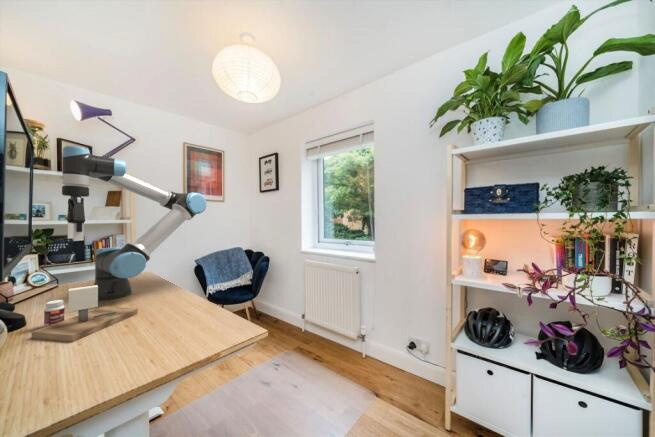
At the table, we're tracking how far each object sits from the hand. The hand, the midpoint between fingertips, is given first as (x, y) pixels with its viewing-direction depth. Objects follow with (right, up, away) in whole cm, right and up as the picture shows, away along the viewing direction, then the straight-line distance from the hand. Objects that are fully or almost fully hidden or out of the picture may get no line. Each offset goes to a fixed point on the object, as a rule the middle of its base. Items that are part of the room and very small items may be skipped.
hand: (75, 239), depth 97 cm
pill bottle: (+5, -29, -12) cm, 32 cm away
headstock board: (+17, -29, -11) cm, 35 cm away
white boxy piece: (+18, -27, -11) cm, 34 cm away
